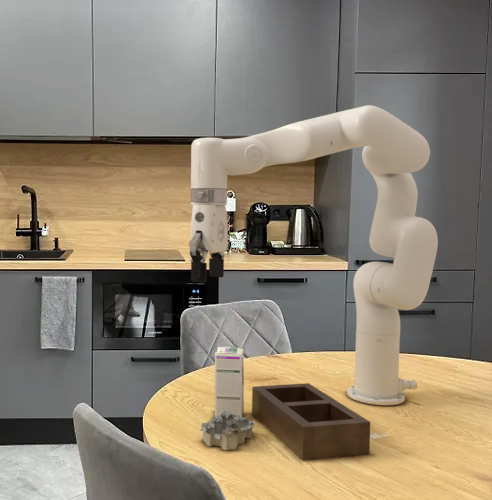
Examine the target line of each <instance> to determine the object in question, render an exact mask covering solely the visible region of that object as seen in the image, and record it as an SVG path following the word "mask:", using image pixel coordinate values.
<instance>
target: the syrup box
mask: <svg viewBox="0 0 492 500" xmlns="http://www.w3.org/2000/svg"><path fill="white" fill-rule="evenodd" d="M244 367H245V365H244V348H243V347H238V346H218V347H217V348H216V350H215V352H214V417H217V416H220V415H221V414H222V413H223V412H224V411H225V410H226V411H227V412H229V413H231V414H233V415H234V414H236V415H239V416H241V417H243V418H244V411H245V410H244V409H245V408H244V406H245V405H244V403H245V399H244V393H245V392H244V391H245V390H244V389H245V387H244V386H245V385H244V383H245V382H244V380H245V379H244V378H245V377H244V376H245V375H244V374H245V373H244V369H245V368H244Z"/></svg>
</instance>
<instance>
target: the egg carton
mask: <svg viewBox="0 0 492 500" xmlns="http://www.w3.org/2000/svg"><path fill="white" fill-rule="evenodd" d="M255 423H256V421H255V420H254V419H253V420H251V421H250V420H249V419H248V417H247V416H245V417H244V416H243V417H241V416H239V415H236V414H234V415H233V414H231V413H229V412H227V411H226V410H225V411H224V412H223V413H222V414H221V415H220V416H217V417H215V416H213V418H212V419H210V420H207V422H202V423H201V425H200V431H201V432H202V441H203V442H204V443H205V445H206V446H208V447H212V446H218V447H221V450H222V451H223V450H224V451H228V450H237V449H238V445H243V444H244V443H245V441H246V439H252V438H253V436H254V435H253V429H254V427H255V425H256V424H255Z"/></svg>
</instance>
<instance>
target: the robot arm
mask: <svg viewBox="0 0 492 500" xmlns="http://www.w3.org/2000/svg"><path fill="white" fill-rule="evenodd" d="M356 148H362V151H361V158H362V163H363V165H364V167H365V169H366V170H367V171H368V172H369V174H370V175H371V176H372V178H373V179H374V182H375V184H376V188H377V199H376V205H375V209H374V215H373V217H372V223H371V227H370V231H369V239H368V240H369V241H368V243H369V247H370V249H371V251H373V252H374V253H375V254H377V255H379V256H382V257H386V258H393V262H386V261H370V262H369V261H368V262H367V263H364V264H362V265H361V266H360V267H359V268H358V269H357V270H356V272H355V274H354V277H353V283H352V287H353V288H352V289H353V295H354V301H355V309H356V311H355V313H356V319H355V320H356V323H355V325H356V326H355V327H356V328H355V351H354V353H355V354H354V384H353V385H350V386H349V387H348V388H347V389H346V395H347V396H348V397H349V398H350V399H352V400H354V401H357V402H359V403H363V404H368V405H374V406H396V405H397V406H398V405H400V404H403V403H404V402H405V401H406V395H405V393H403V391H405V390H416V389H417V388H418V382H417V381H416V380H413V379H412V380H405V379H404V378H399V374H400V373H399V372H400V371H399V370H400V346H401V345H400V343H401V317H400V312H399V310H401V311H402V310H403V311H411V310H413V309H416V308H418V307H419V306H420V305H422V303H423V302H424V300H425V299H426V297H427V294H428V291H429V288H430V287H429V286H430V283H431V279H432V275H433V270H434V266H435V261H436V258H437V257H436V256H437V253H438V247H439V238H438V233H437V230H436V228H435V226H434V225H433V223H432V222H430V221H429V220H428V219H426V218H424V217H421V216H416V213H417V205H418V197H419V192H418V186H417V183H416V181H415V178H414V176H413V175H412V173H415V172H418V171H420V170H422V169H423V168H424V167H425V166H426V165H427V164H428V162H429V160H430V156H431V149H430V148H431V147H430V145H429V142H428V140H427V139H426V138H425V137H424V136H423V135H422V134H421V133H420V132H419V131H417V130H416V129H414V128H413V127H411V126H410V125H409V124H407V123H405V122H404V121H402V120H401V119H399V118H398V117H396V116H395V115H393V114H392V113H390V112H389V111H387V110H385V109H383V108H381V107H379V106H375V105H371V104H370V105H363V106H359V107H355V108H350V109H345V110H341V111H336V112H333V113H329V114H325V115H320V116H316V117H313V118H308V119H303V120H300V121H297V122H296V121H295V122H293V123H290V124H286V125H283V126H281V127H278V128H275V129H272V130H269V131H265V132H261V133H257V134H253V135H248V136H245V137H239V138H227V139H226V138H225V139H223V138H220V137H200V138H195V139H194V140H193V141H192V142H191V146H190V153H191V154H190V205H191V206H192V209H191V218H190V219H191V222H190V240H189V242H188V247H189V255H190V260H189V261H190V281H191V282H192V283H201V284H204V283H206V282H207V279H208V278H207V277H208V276H209V277H210V278H224V275H225V251H226V250H227V249H228V248H229V247H228V246H229V238H228V237H229V236H228V233H229V232H228V216H227V207H226V206H227V205H228V176H238V175H250V174H254V173H258V172H260V171H261V170H262V169H263V168H266V167H271V166H275V165H276V166H277V165H285V164H295V163H300V162H305V161H310V160H313V159H317V158H321V157H325V156H328V155H333V154H336V153H340V152H344V151H347V150H348V151H349V150H352V149H356ZM208 253H209V255H210V257H209V258H208V264H207V262H206V259H207V257H208ZM207 265H208V266H207ZM207 268H208V269H207ZM207 273H208V275H207Z"/></svg>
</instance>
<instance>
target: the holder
mask: <svg viewBox="0 0 492 500" xmlns="http://www.w3.org/2000/svg"><path fill="white" fill-rule="evenodd" d="M251 392H252V393H251V414H252V416H253V417H254V418H255V419H257V420H258V421H259V422H260V423H261V424H262V425H263V426H265V428H267V429H268V430H269V431H270V432H271V433H272V434H273V435H274V436H275V437H277V438H278V440H280V441H281V442H282V443H283V444H284V445H286V446H287V447H288V449H290V450H291V451H292V452H293V453H294V454H295V455H296V456H298V458H300V459H301V460H302V461H308V460H317V459H319V460H320V459H331V458H343V457H351V456H353V457H354V456H366V455H370V451H371V450H370V448H371V447H370V445H371V421H370V420H368V419H367V418H365V417H363V416H361V415H360V414H359V413H357V412H355V411H353V410H352V409H350V408H349V407H347V406H346V405H344V404H342V403H341V402H339V401H338V400H336V399H334V398H333V397H331V396H330V395H328V394H327V393H325V392H324V391H322V390H320V389H318V388H317V387H315V386H314V385H312V384H311V383H308V382H307V383H291V384H290V383H289V384H275V385H259V386H258V385H257V386H252V391H251Z"/></svg>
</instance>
